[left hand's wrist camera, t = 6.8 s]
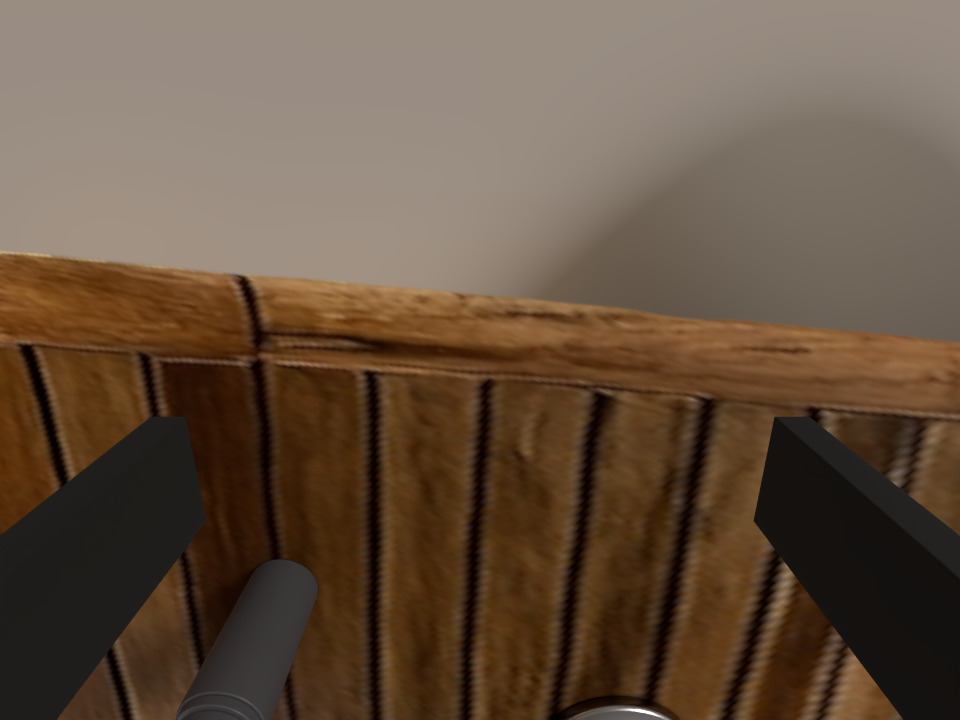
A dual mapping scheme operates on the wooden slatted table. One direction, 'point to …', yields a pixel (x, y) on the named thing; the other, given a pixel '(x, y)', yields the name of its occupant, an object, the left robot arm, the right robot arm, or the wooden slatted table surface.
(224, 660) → the bottle
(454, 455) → the wooden slatted table surface
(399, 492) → the wooden slatted table surface
